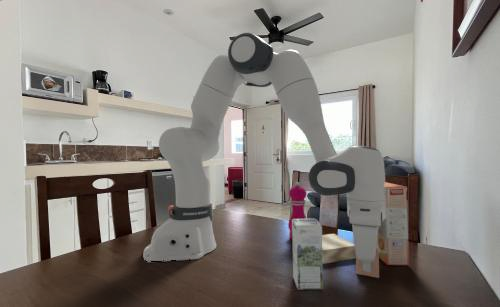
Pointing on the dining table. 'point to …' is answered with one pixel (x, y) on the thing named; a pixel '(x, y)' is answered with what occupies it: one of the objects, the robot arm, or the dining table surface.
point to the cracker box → (394, 227)
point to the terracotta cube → (374, 267)
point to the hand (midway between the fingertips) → (367, 264)
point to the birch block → (336, 249)
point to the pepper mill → (297, 204)
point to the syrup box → (307, 254)
